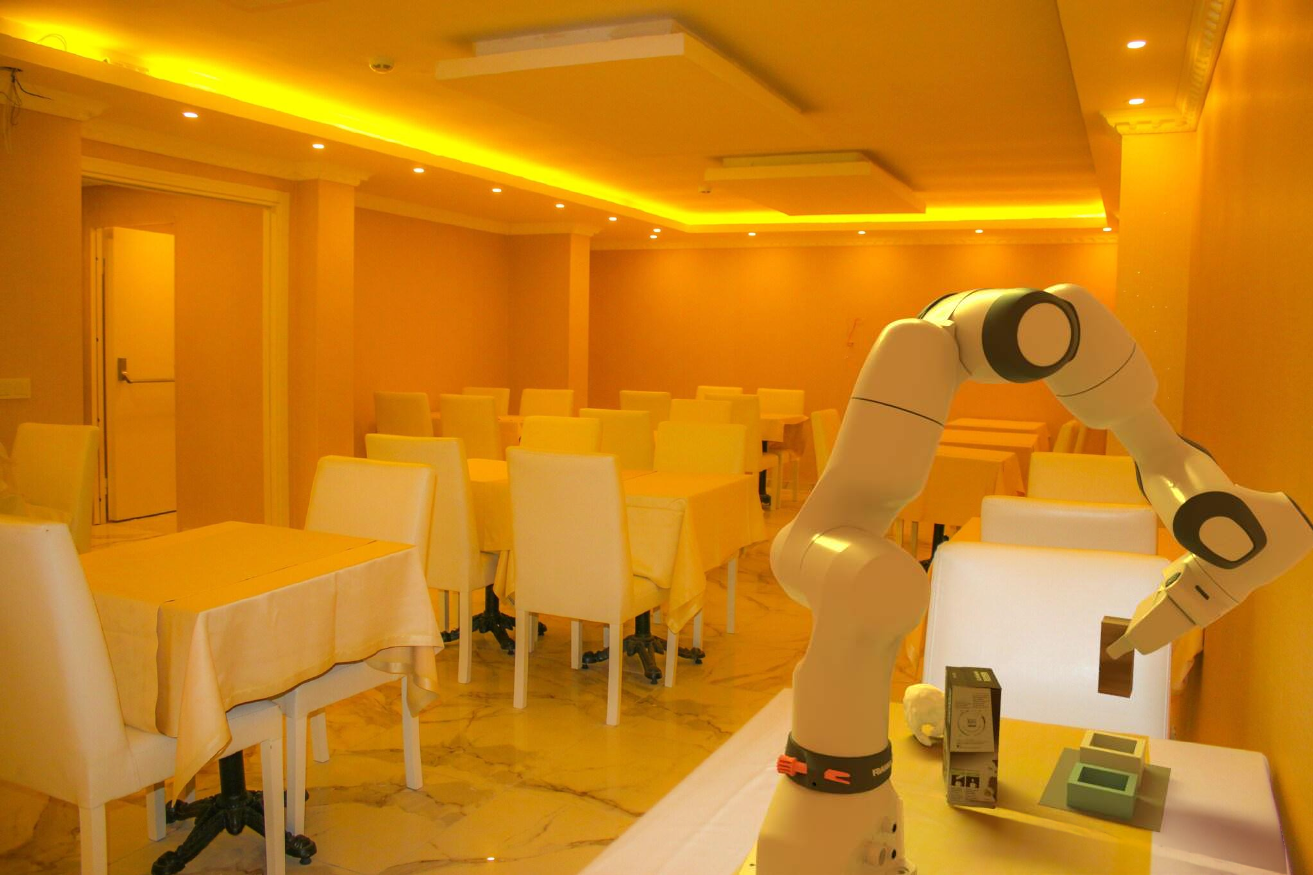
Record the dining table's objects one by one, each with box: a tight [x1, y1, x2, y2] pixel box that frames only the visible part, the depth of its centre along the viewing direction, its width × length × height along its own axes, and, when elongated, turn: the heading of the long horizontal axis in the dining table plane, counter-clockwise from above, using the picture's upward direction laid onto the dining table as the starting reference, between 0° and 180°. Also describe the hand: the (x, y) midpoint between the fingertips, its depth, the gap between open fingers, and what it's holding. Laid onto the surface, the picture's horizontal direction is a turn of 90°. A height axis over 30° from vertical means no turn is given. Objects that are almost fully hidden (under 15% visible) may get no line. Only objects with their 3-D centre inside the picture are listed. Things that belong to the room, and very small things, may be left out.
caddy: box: [1037, 728, 1171, 833], centre depth 132 cm, size 22×14×5 cm, turn 149°
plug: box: [1097, 615, 1136, 699], centre depth 136 cm, size 4×4×10 cm
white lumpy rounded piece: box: [902, 683, 945, 747], centre depth 150 cm, size 6×8×12 cm
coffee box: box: [941, 665, 1003, 810], centre depth 131 cm, size 9×6×16 cm
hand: (1112, 649), depth 136 cm, fingers closed on plug, 4 cm apart
